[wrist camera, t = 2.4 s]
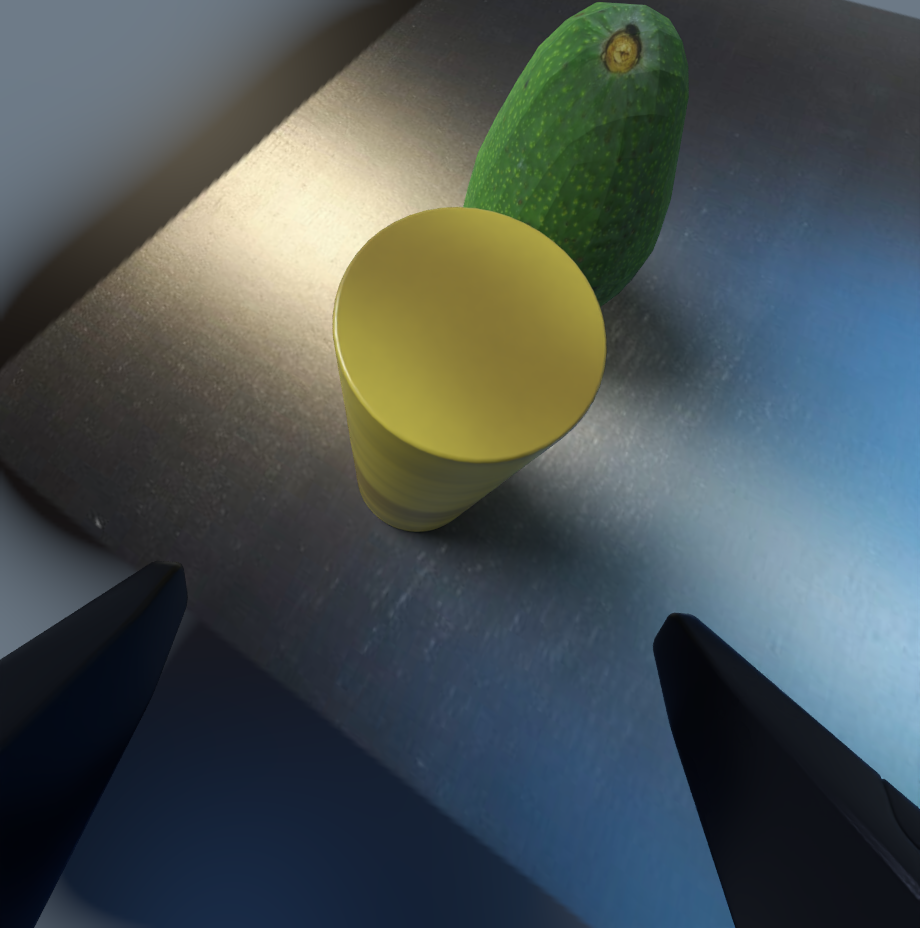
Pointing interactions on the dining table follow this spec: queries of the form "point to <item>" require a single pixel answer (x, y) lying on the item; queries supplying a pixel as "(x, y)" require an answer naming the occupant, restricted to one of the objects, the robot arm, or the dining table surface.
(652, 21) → the fruit
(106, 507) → the dining table surface
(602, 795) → the dining table surface
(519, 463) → the yellow tumbler
